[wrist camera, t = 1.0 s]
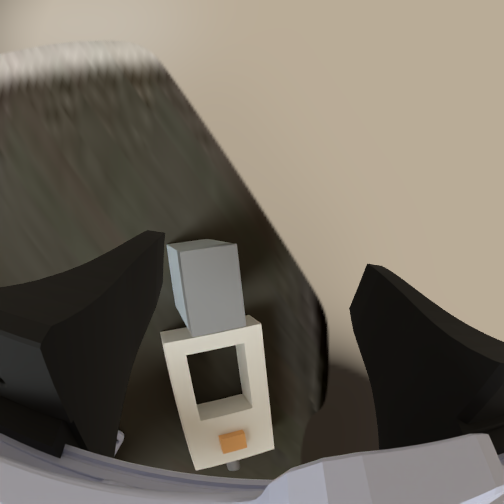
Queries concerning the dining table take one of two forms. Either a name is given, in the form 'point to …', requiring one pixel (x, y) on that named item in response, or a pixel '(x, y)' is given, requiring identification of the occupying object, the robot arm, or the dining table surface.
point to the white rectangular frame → (227, 409)
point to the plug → (207, 285)
